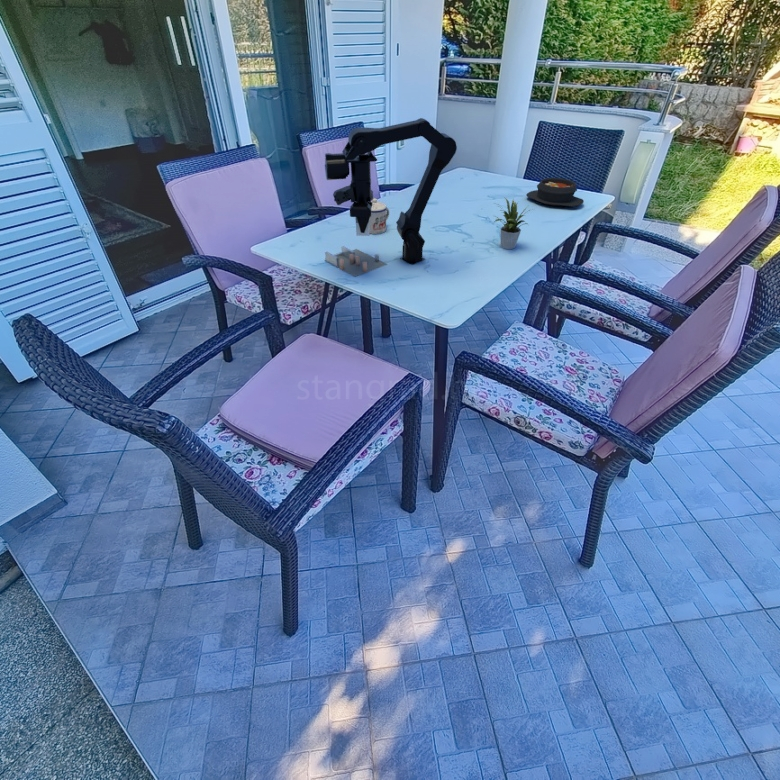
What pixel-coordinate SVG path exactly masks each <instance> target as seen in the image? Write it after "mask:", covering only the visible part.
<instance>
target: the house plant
mask: <svg viewBox="0 0 780 780" xmlns="http://www.w3.org/2000/svg"><path fill="white" fill-rule="evenodd" d="M504 200H505V202H506V206H507V207H506V209H507V210H505V209H503V208H501V207H502V206H500V204H499V203H495V202H494V204H496V205H497V207H499V208H500V210H499V211H501V212H502V213H503V215H502V216H503V217H504V218H505V220H506V221H505V220H504V219H502V218H499V217H498V216H496V215H494V217H496V219H495V221H493V222H494V223H495V222H498V221H500V222H503V226H501V227H500V248H502V249H505V250H513V248H514V249H515V248H516V246H517V242H518V240H519V237H520V234H521V231H522V229H521V228H520V227H521V226H523V225H529V223H527V222H526V221H525V220H523V219H521V218H522V217H524V216H525V217H526V215H525V213H524V212H525V211H526V209H527V208H528V207H529V205H527V206H526V207H525V208H524V209H523V211H522V212H521V213H520V214H519V211H518V204H519V202H516V201H515V200H514V198H513V199H512V201H511V205H510V201H509V200H508V199H507V198H506V197H504ZM532 210H533V211H534V209H533V208H532V209H529V210H527V211H526V213H528V212H530V211H532ZM507 211H508V212H507ZM523 213H524V214H523ZM518 215H519V216H518ZM524 222H525V223H524ZM522 223H523V224H522ZM520 224H521V225H520Z"/></svg>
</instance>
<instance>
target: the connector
mask: <svg viewBox="0 0 780 780" xmlns="http://www.w3.org/2000/svg"><path fill="white" fill-rule="evenodd" d="M369 231H370V229H369V221H368V224H367V227H366V230H365V232H364V233H361V231H360V227H359V224H358V220H357V218H356V217H355V235H356V236H357V237H360V236H362V237H364V236H365V237H366V236H370V233H369Z"/></svg>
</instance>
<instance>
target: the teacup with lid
mask: <svg viewBox="0 0 780 780" xmlns="http://www.w3.org/2000/svg"><path fill="white" fill-rule="evenodd" d="M371 202H372V208H371V211H372V212H371V217H370V219H369V229H370V231H369V235H378V234H380V235H381V234H383V233H385V232H386V231H387V220H388V219H389V217H390V209H389V208H388V207H387V205H386V204H385V203H383V202H380V201H378V199H377V198H373V200H371Z"/></svg>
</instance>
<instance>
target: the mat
mask: <svg viewBox="0 0 780 780" xmlns="http://www.w3.org/2000/svg"><path fill="white" fill-rule="evenodd" d="M351 250H352V251H354V252H355V256H360V266H356V263H354V264H350V259H349V258H347V257H345V256H340V257H338V259H339V260H340V259H343V260H344V270H342V271H343V272H345V273H347V274H348V275H350V276H352V277H354V278H356V277H360V276H362V275H364V274H367V273H370V272H372V271H374V270H378V269H379V268H382V267H385V266H387V265H388V263H386V262H384V261H382V260H381V259H379V262H375V256H372V255H369V254H368V253H365V252H363V251H362V250H360V249H357V248H355V249H351ZM324 261H325V262H327V261H326V260H325V259H324ZM363 262H367V272H363ZM327 263H328V264H330V265H332V266H334V267H336V268H338V269H339V270H341V269H340V261H339V266H338V267H337V266H335V265H333V264H331V263H329V262H327Z"/></svg>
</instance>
